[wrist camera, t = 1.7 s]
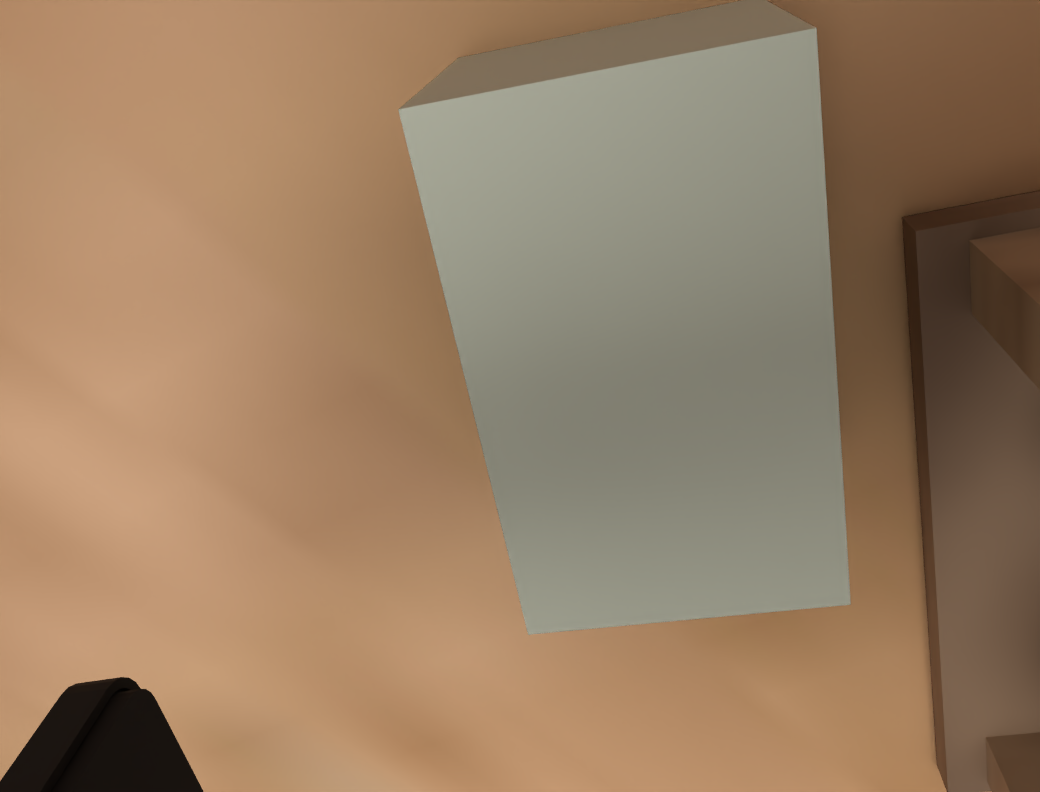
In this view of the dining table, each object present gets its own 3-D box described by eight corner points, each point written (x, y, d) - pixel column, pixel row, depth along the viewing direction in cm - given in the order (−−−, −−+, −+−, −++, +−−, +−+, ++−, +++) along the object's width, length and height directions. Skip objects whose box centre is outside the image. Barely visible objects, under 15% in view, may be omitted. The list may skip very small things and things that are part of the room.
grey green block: (758, -4, 18) (816, 28, 13) (795, 442, 23) (850, 604, 17) (459, 57, 19) (398, 109, 14) (548, 472, 24) (528, 634, 18)
